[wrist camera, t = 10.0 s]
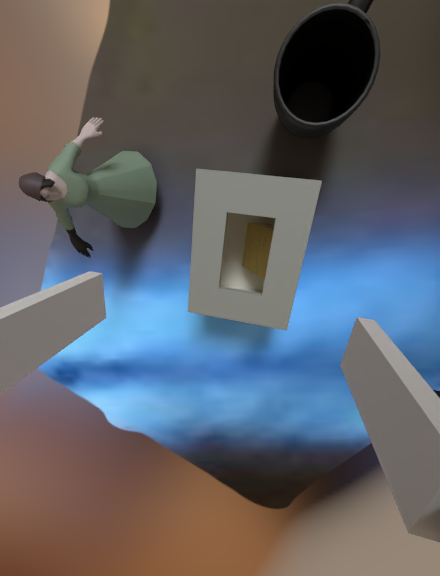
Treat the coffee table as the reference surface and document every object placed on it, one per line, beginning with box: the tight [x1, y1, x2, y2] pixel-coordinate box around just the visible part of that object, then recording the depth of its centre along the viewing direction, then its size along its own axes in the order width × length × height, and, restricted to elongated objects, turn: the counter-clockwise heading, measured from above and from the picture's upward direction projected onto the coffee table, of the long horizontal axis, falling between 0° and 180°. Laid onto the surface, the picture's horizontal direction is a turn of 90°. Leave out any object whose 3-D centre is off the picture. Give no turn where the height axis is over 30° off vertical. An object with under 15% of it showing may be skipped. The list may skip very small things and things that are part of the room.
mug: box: [274, 0, 380, 138], centre depth 23 cm, size 8×12×10 cm
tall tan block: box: [242, 223, 274, 280], centre depth 31 cm, size 6×3×6 cm
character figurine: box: [19, 117, 157, 258], centre depth 28 cm, size 16×8×18 cm, turn 158°
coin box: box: [188, 169, 322, 330], centre depth 30 cm, size 16×12×10 cm
